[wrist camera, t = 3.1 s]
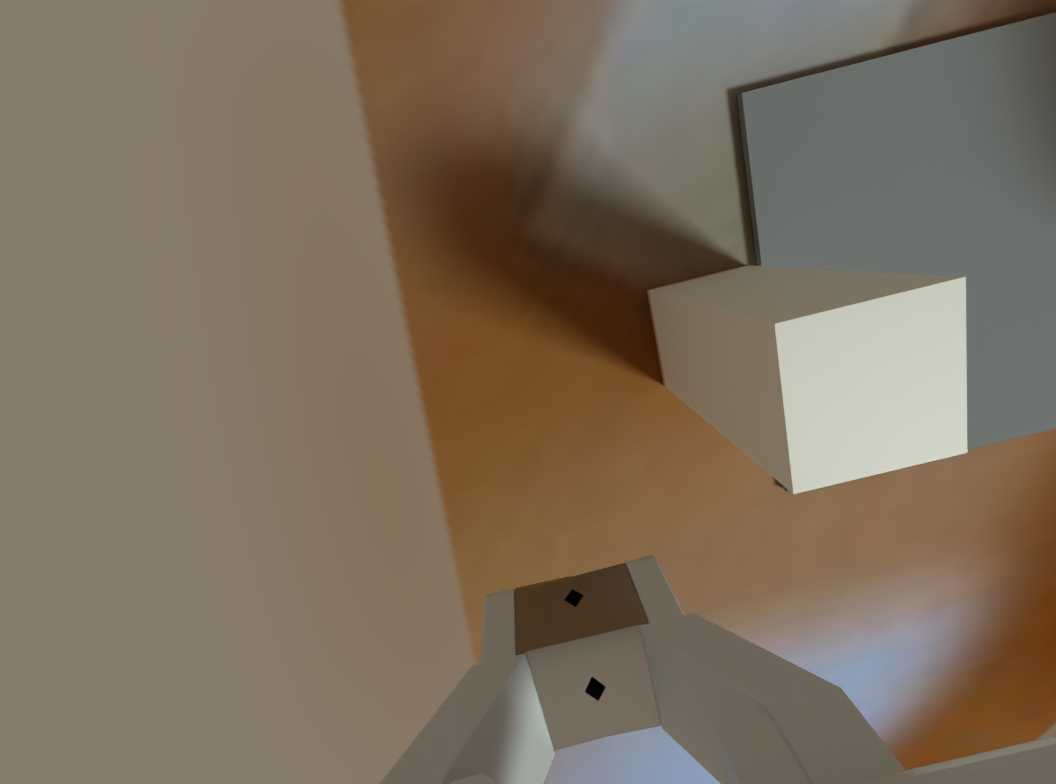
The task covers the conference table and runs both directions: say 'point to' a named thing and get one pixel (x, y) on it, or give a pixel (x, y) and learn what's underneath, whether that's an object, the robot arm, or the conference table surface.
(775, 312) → the tall block
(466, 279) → the conference table surface
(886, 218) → the mat
